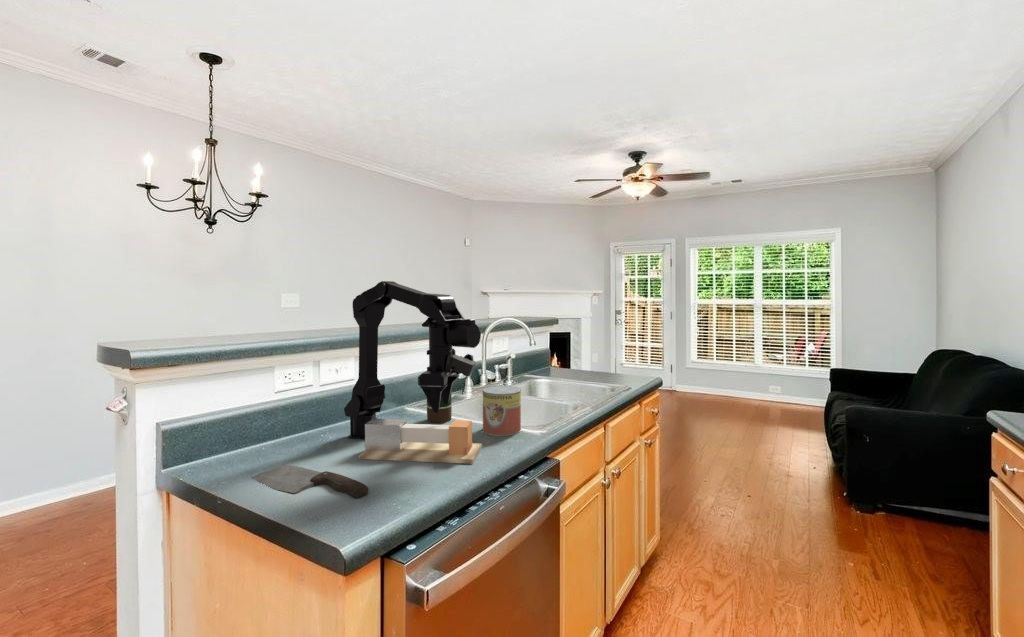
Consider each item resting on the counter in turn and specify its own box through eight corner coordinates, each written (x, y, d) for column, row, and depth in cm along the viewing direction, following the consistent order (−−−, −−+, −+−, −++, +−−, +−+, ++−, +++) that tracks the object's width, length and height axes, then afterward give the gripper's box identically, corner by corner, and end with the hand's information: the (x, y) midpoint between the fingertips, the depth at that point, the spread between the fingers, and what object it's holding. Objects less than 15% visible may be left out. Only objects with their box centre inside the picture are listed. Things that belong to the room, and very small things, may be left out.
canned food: (476, 433, 137) (476, 392, 137) (491, 423, 148) (491, 384, 147) (513, 437, 133) (513, 395, 133) (526, 427, 144) (526, 387, 143)
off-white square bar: (386, 441, 120) (386, 427, 120) (391, 437, 124) (391, 422, 123) (461, 444, 118) (461, 429, 117) (464, 439, 121) (464, 425, 121)
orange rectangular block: (449, 454, 117) (448, 426, 117) (454, 446, 123) (454, 420, 123) (467, 454, 116) (467, 427, 116) (472, 446, 122) (471, 420, 122)
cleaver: (377, 491, 99) (377, 480, 99) (340, 510, 90) (340, 499, 90) (282, 468, 112) (282, 459, 112) (242, 483, 104) (242, 473, 104)
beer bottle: (456, 419, 152) (456, 344, 150) (436, 424, 146) (436, 346, 145) (441, 415, 157) (440, 342, 156) (421, 420, 152) (420, 344, 150)
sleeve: (365, 450, 120) (364, 424, 120) (373, 443, 125) (373, 418, 125) (400, 451, 119) (399, 425, 118) (407, 444, 124) (406, 419, 124)
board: (359, 458, 117) (359, 454, 117) (378, 443, 129) (378, 439, 128) (472, 463, 113) (472, 459, 113) (481, 447, 125) (481, 443, 125)
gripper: (464, 350, 109) (465, 418, 109) (479, 341, 127) (480, 400, 128) (416, 349, 110) (417, 417, 111) (438, 341, 128) (439, 399, 129)
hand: (441, 407), depth 120 cm, fingers open, 9 cm apart
